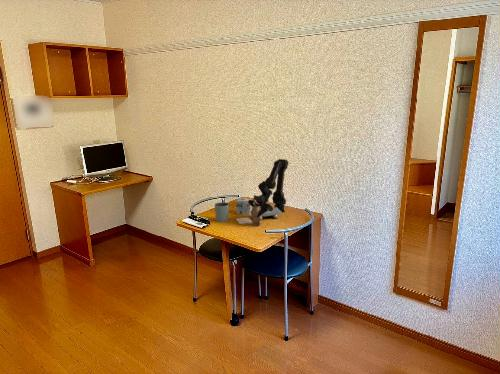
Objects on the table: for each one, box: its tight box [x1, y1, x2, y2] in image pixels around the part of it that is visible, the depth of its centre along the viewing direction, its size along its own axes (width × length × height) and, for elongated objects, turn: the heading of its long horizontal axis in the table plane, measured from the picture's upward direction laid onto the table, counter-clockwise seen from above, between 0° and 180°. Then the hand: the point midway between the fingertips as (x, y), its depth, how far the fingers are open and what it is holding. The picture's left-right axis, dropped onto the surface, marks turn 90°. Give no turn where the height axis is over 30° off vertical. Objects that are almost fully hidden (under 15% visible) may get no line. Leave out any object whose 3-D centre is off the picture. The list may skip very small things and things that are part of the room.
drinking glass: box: [214, 201, 230, 223], centre depth 271 cm, size 10×10×12 cm
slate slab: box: [250, 207, 283, 222], centre depth 276 cm, size 20×11×5 cm, turn 106°
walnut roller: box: [251, 206, 261, 227], centre depth 261 cm, size 5×5×13 cm
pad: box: [235, 216, 253, 225], centre depth 269 cm, size 9×9×1 cm
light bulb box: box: [235, 197, 253, 216], centre depth 286 cm, size 11×7×11 cm, turn 76°
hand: (254, 216), depth 259 cm, fingers closed on walnut roller, 5 cm apart
